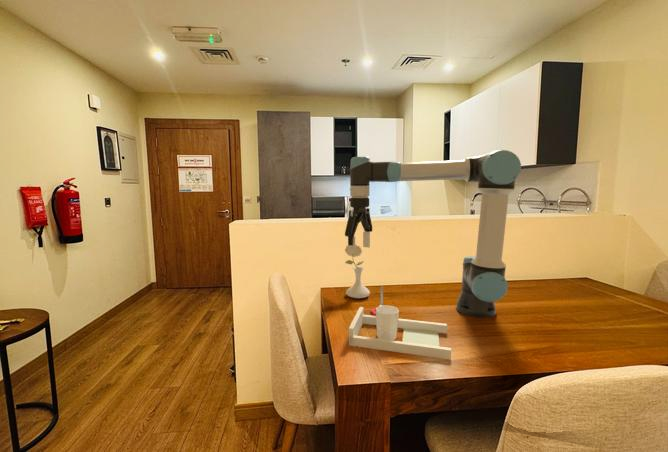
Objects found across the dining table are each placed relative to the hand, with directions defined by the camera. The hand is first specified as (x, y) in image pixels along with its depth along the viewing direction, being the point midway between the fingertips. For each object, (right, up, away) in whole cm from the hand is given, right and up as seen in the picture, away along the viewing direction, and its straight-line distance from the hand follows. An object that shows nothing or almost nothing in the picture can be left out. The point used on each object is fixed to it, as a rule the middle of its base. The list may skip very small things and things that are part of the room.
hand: (359, 250), depth 128 cm
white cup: (+8, -29, -16) cm, 35 cm away
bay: (+13, -29, -17) cm, 36 cm away
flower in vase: (+1, -24, +24) cm, 34 cm away
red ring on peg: (+9, -27, +4) cm, 29 cm away
